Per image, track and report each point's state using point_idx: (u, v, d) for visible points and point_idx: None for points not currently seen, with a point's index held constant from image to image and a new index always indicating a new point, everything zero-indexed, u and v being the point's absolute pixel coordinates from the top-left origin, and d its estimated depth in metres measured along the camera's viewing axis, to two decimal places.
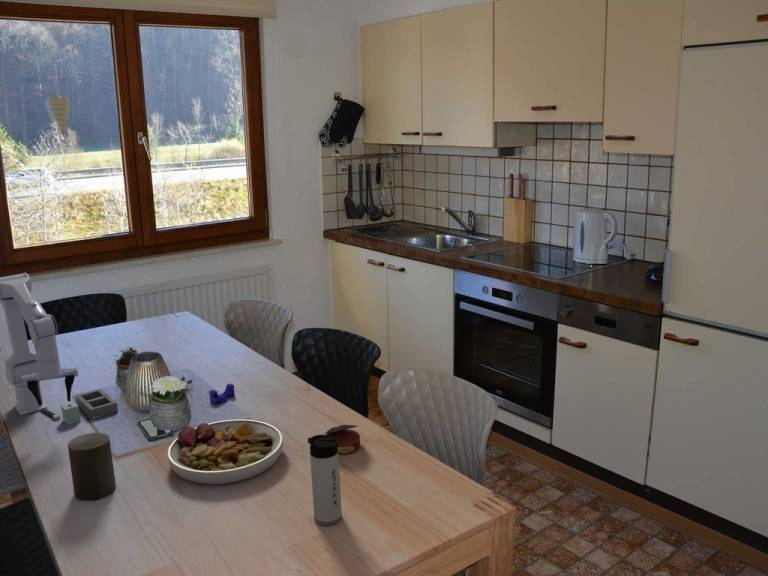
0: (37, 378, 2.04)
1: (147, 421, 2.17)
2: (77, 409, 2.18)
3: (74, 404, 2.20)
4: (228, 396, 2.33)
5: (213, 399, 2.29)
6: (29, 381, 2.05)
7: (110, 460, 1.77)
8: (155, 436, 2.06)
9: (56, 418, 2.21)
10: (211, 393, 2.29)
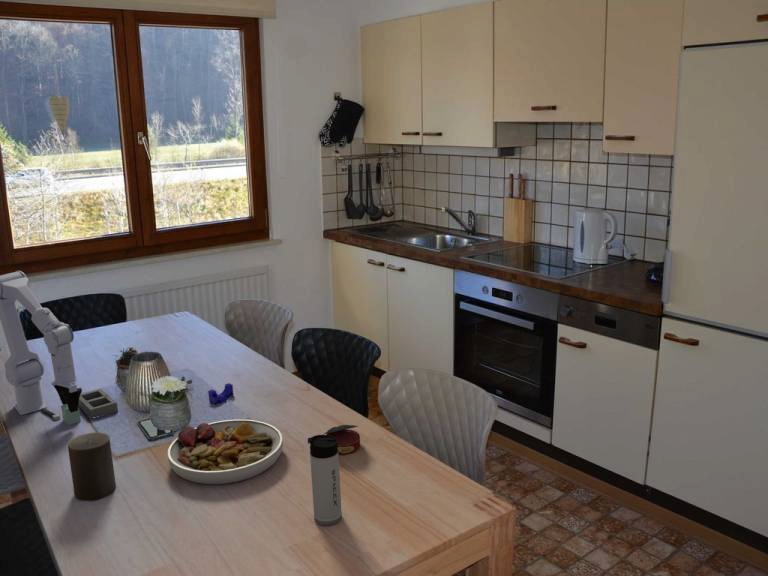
0: None
1: (147, 421, 2.17)
2: None
3: None
4: (227, 396, 2.33)
5: (212, 399, 2.29)
6: None
7: (110, 460, 1.77)
8: (155, 436, 2.06)
9: (56, 418, 2.21)
10: (210, 393, 2.29)
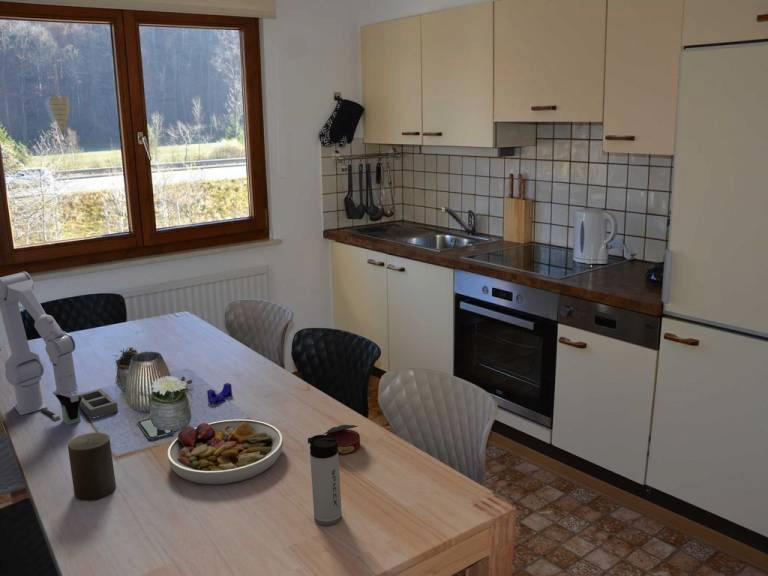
0: None
1: (147, 421, 2.17)
2: None
3: None
4: (225, 396, 2.33)
5: (211, 398, 2.29)
6: None
7: (110, 460, 1.77)
8: (155, 436, 2.06)
9: (56, 418, 2.21)
10: (209, 393, 2.29)
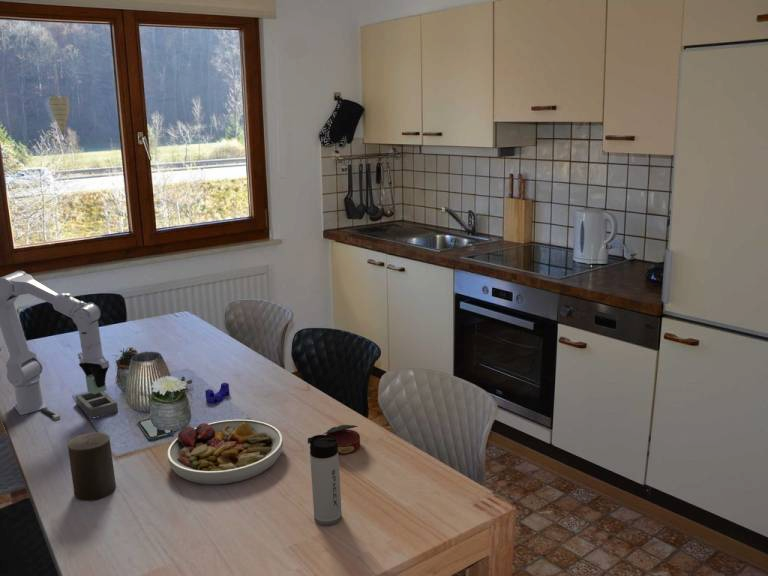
0: (81, 358, 2.22)
1: (147, 421, 2.17)
2: None
3: None
4: (223, 395, 2.34)
5: (210, 398, 2.29)
6: None
7: (110, 460, 1.77)
8: (155, 436, 2.06)
9: (56, 418, 2.21)
10: (207, 392, 2.29)
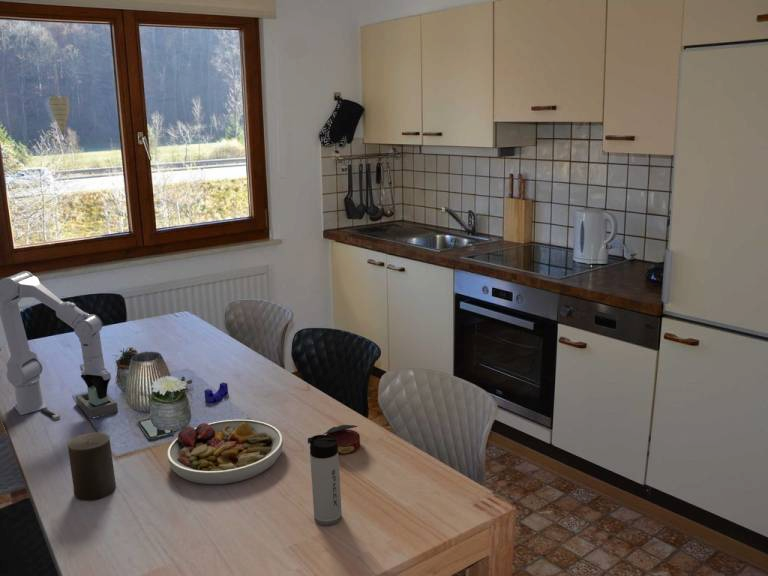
0: (83, 369, 2.23)
1: (147, 421, 2.17)
2: None
3: None
4: (222, 395, 2.34)
5: (209, 398, 2.29)
6: None
7: (110, 460, 1.77)
8: (155, 436, 2.06)
9: (56, 418, 2.21)
10: (206, 392, 2.29)
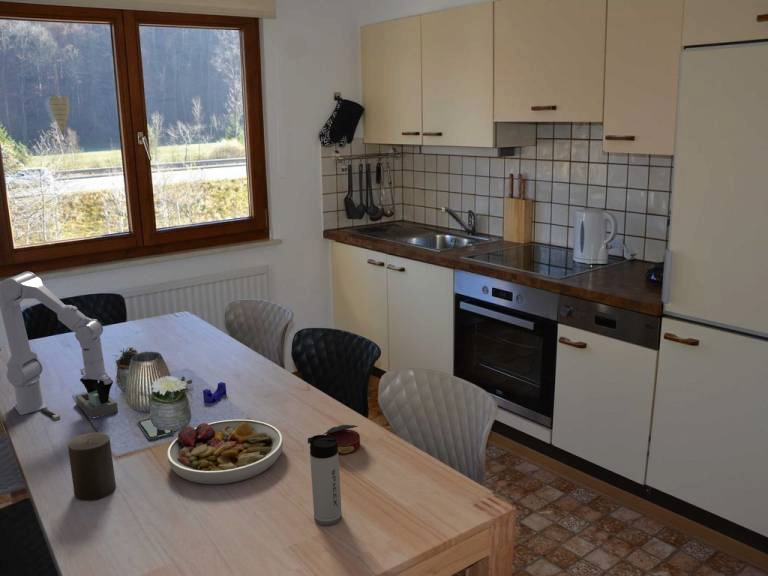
0: (83, 374, 2.23)
1: (147, 421, 2.17)
2: None
3: None
4: (220, 395, 2.34)
5: (207, 398, 2.29)
6: (84, 374, 2.26)
7: (110, 460, 1.77)
8: (155, 436, 2.06)
9: (56, 418, 2.21)
10: (205, 392, 2.29)
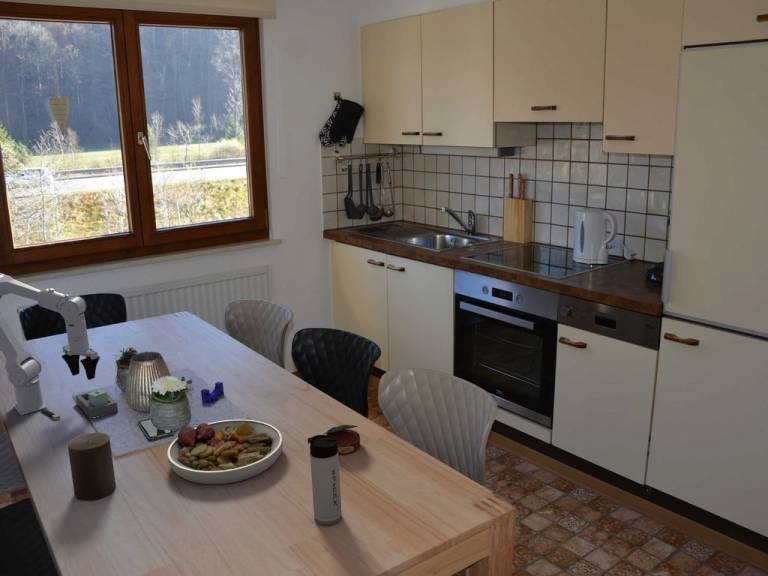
0: (67, 350, 2.25)
1: (147, 421, 2.17)
2: (105, 395, 2.25)
3: (101, 391, 2.25)
4: (218, 394, 2.34)
5: (206, 398, 2.30)
6: (67, 351, 2.27)
7: (110, 460, 1.77)
8: (155, 436, 2.06)
9: (56, 418, 2.21)
10: (203, 392, 2.29)
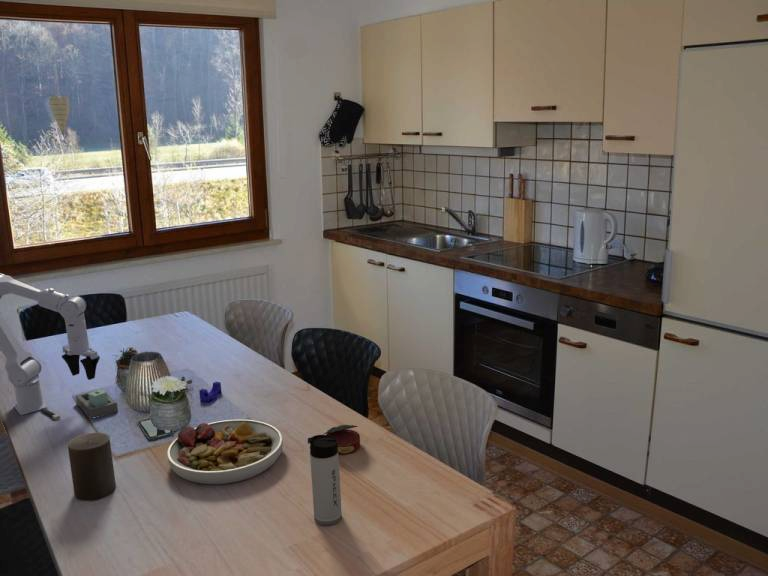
0: (67, 350, 2.25)
1: (147, 421, 2.17)
2: (105, 395, 2.25)
3: (101, 391, 2.25)
4: (216, 394, 2.35)
5: (204, 398, 2.30)
6: (67, 351, 2.27)
7: (110, 460, 1.77)
8: (155, 436, 2.06)
9: (56, 418, 2.21)
10: (202, 392, 2.30)
